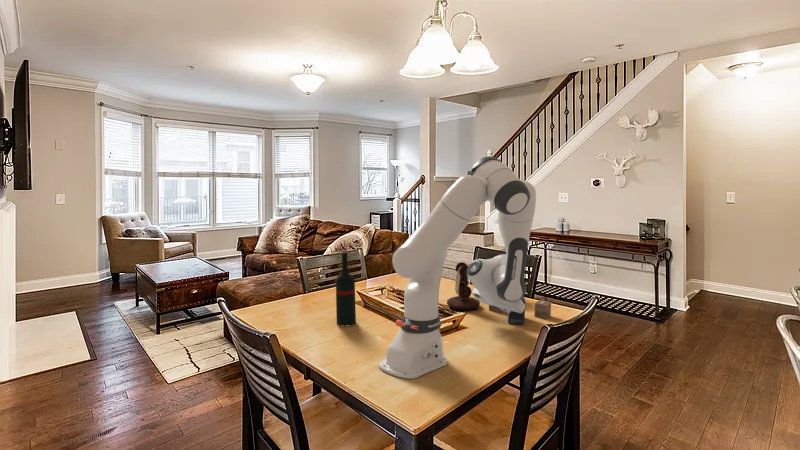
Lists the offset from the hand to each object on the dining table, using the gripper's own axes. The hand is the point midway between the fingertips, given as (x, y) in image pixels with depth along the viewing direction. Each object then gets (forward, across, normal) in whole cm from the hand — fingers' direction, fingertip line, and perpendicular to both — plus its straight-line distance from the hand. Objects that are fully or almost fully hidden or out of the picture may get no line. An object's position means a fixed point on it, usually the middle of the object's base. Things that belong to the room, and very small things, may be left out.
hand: (507, 310), depth 165 cm
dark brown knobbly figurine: (+7, +26, +1) cm, 27 cm away
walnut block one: (+17, -4, -10) cm, 20 cm away
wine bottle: (-29, +45, +37) cm, 65 cm away
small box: (+8, 0, 0) cm, 9 cm away
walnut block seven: (+12, +14, -4) cm, 18 cm away
